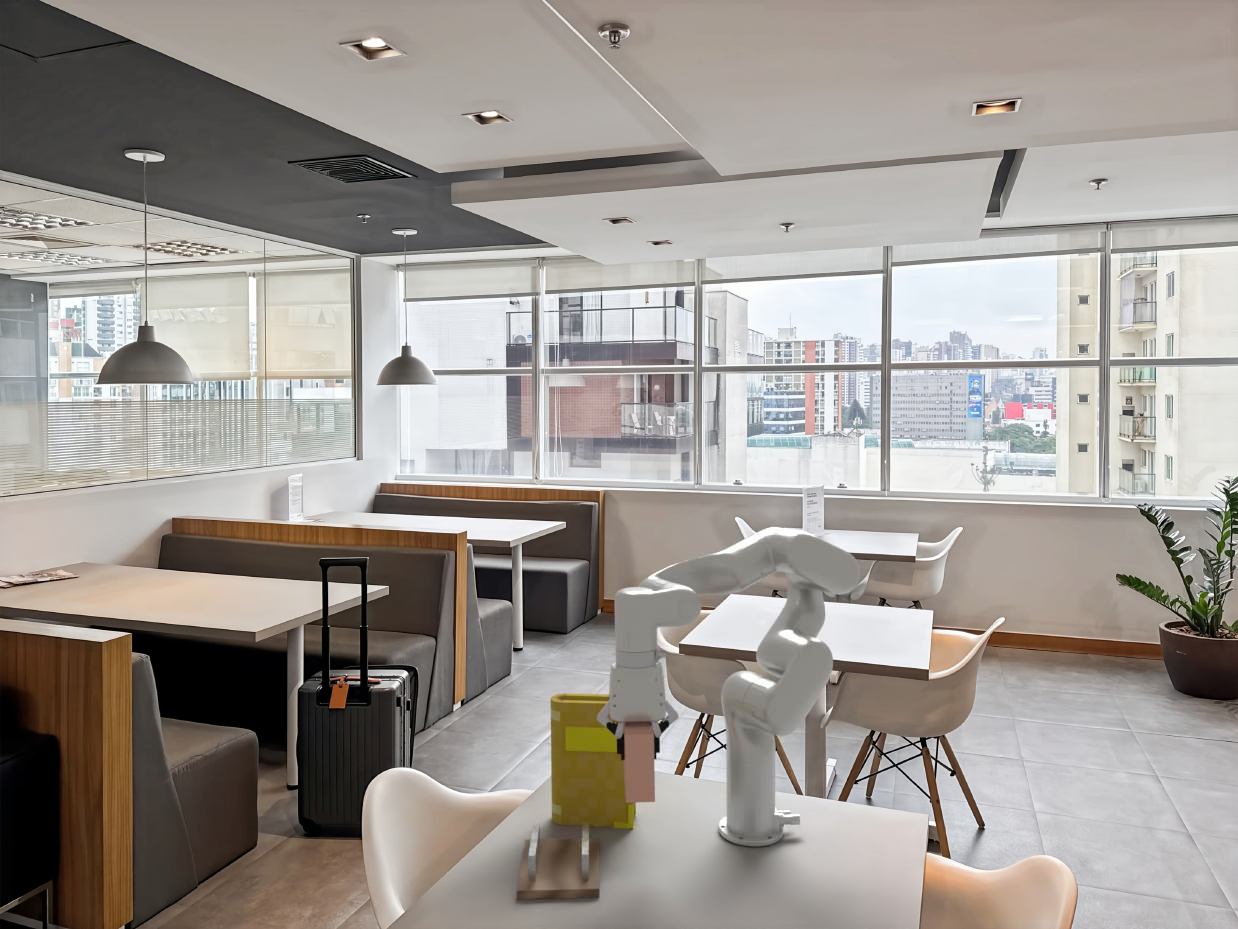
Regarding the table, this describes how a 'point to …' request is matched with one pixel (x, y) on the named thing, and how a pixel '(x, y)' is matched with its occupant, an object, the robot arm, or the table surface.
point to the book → (586, 765)
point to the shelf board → (560, 870)
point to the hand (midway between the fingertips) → (638, 755)
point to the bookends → (535, 850)
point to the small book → (639, 762)
